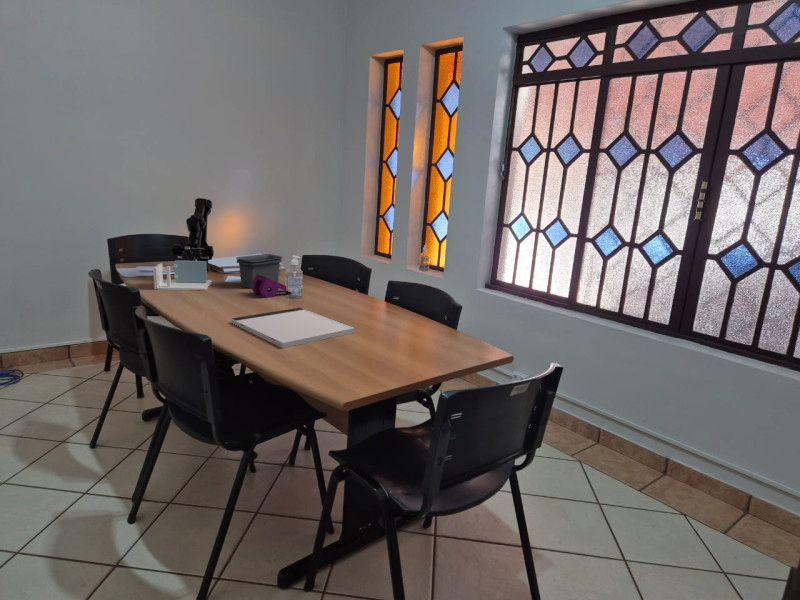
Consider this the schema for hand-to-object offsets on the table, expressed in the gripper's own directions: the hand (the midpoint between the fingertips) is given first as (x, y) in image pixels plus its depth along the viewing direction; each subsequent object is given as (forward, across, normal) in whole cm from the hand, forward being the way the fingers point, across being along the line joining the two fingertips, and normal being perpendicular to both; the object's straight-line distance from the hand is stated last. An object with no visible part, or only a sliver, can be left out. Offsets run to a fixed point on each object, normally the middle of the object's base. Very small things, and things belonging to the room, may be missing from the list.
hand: (191, 264), depth 255 cm
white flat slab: (+58, -48, +43) cm, 87 cm away
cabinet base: (+10, +3, -3) cm, 11 cm away
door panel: (+7, 0, -4) cm, 8 cm away
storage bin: (+6, -31, -7) cm, 33 cm away
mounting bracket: (+20, -40, +6) cm, 45 cm away
